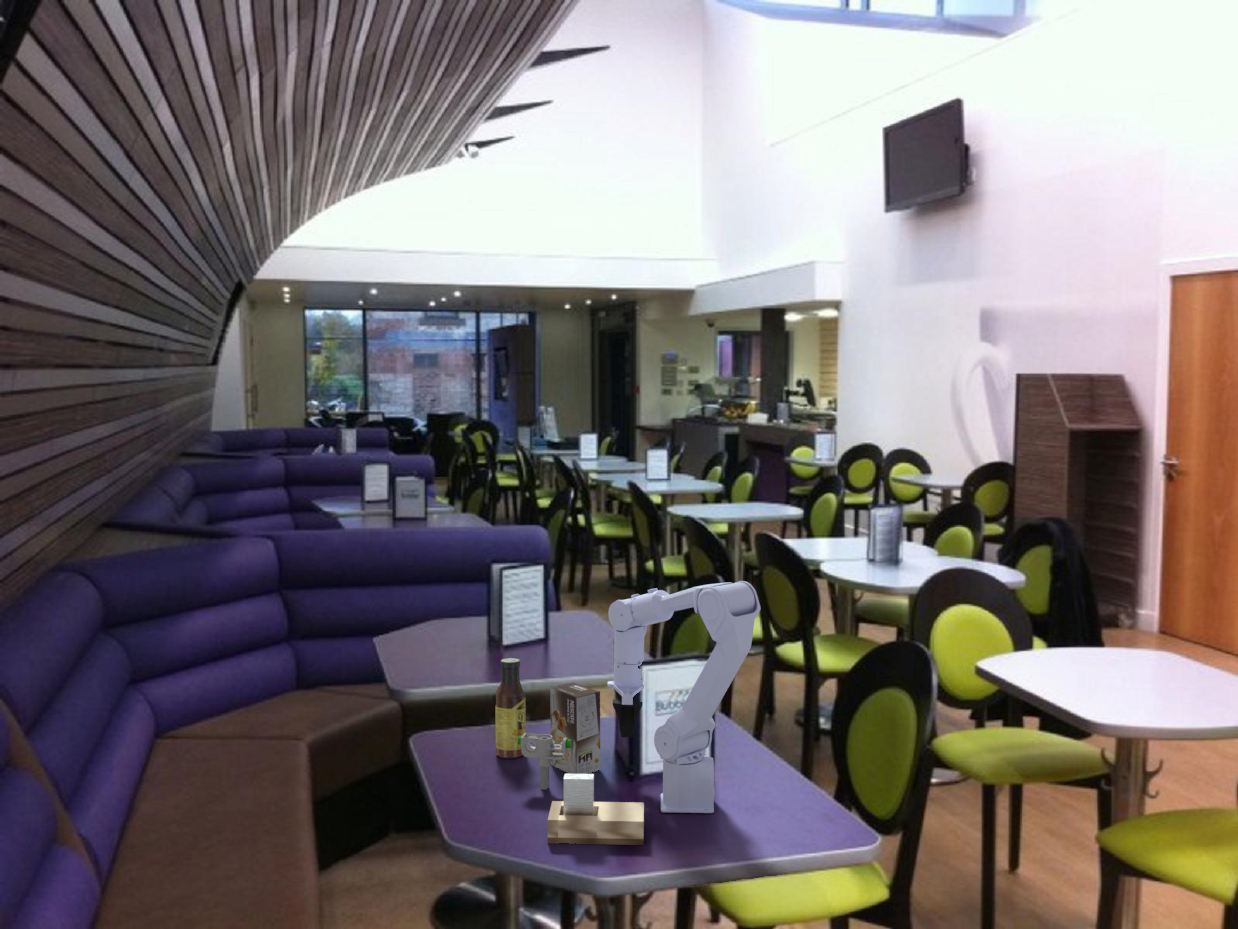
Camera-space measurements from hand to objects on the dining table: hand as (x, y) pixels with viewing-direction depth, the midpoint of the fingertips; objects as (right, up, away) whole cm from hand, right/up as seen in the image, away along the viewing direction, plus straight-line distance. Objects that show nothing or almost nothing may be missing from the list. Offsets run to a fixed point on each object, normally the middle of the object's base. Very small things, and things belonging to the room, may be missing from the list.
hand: (627, 730), depth 198 cm
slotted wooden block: (-5, -12, -22) cm, 26 cm away
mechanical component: (-16, -11, -2) cm, 19 cm away
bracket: (-8, -11, -22) cm, 26 cm away
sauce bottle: (-24, -9, +16) cm, 31 cm away
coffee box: (-10, -10, +9) cm, 17 cm away
